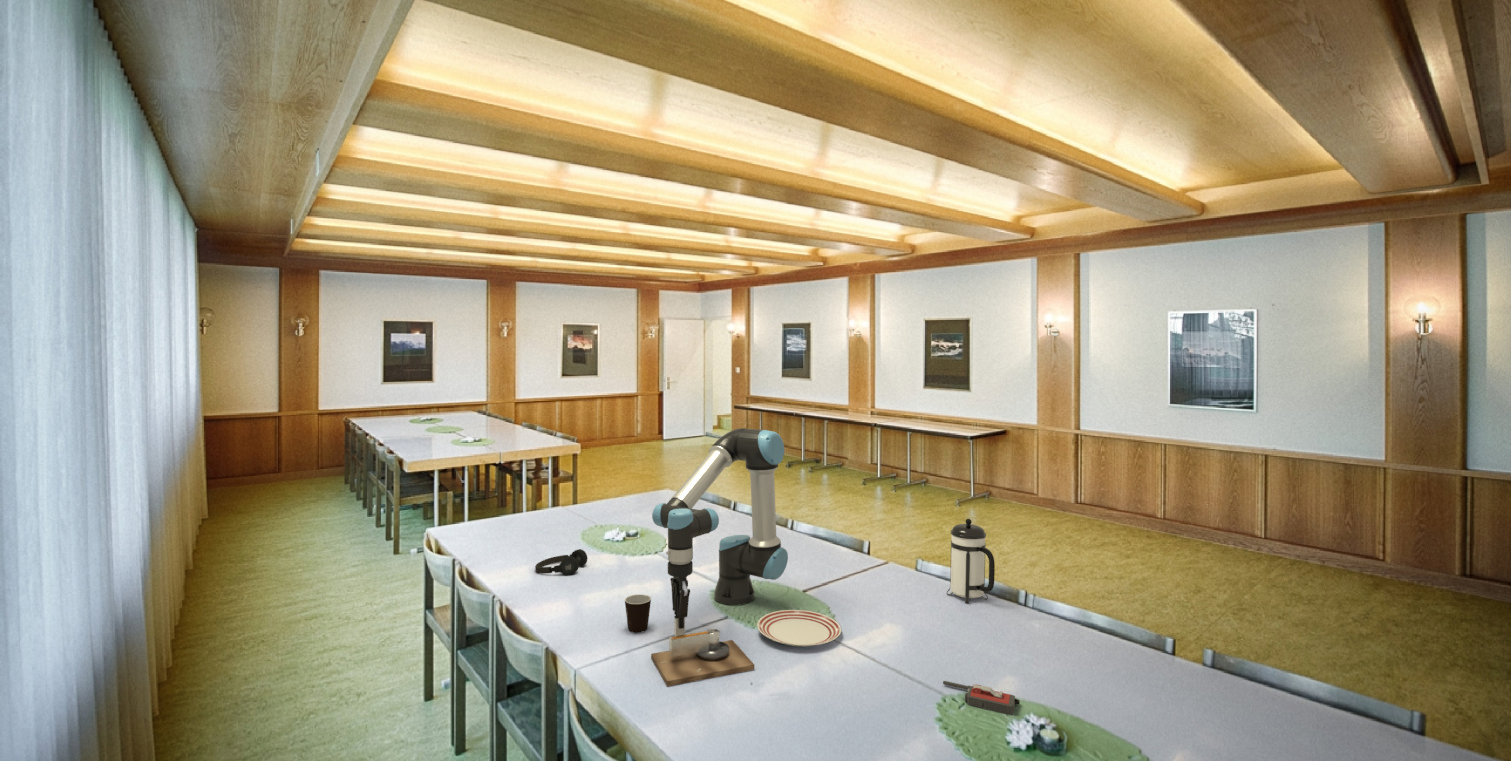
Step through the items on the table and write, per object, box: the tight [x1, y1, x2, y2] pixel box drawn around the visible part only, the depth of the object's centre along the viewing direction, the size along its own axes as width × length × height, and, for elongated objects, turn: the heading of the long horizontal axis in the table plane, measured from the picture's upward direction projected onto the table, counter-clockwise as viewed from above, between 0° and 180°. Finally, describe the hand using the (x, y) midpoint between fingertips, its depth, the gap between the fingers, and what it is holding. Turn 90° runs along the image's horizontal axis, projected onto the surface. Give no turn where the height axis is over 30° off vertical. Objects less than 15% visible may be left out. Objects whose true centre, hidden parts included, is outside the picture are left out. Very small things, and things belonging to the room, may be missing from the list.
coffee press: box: [946, 518, 996, 604], centre depth 249 cm, size 17×16×30 cm
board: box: [650, 639, 755, 687], centre depth 194 cm, size 26×18×2 cm
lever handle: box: [668, 628, 729, 661], centre depth 196 cm, size 18×10×7 cm, turn 113°
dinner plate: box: [756, 609, 842, 648], centre depth 216 cm, size 28×27×3 cm
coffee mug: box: [624, 594, 652, 634], centre depth 220 cm, size 12×9×10 cm
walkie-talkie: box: [942, 680, 1021, 716], centre depth 176 cm, size 9×4×20 cm
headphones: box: [534, 548, 588, 576], centre depth 279 cm, size 17×8×20 cm
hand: (679, 637), depth 201 cm, fingers closed
